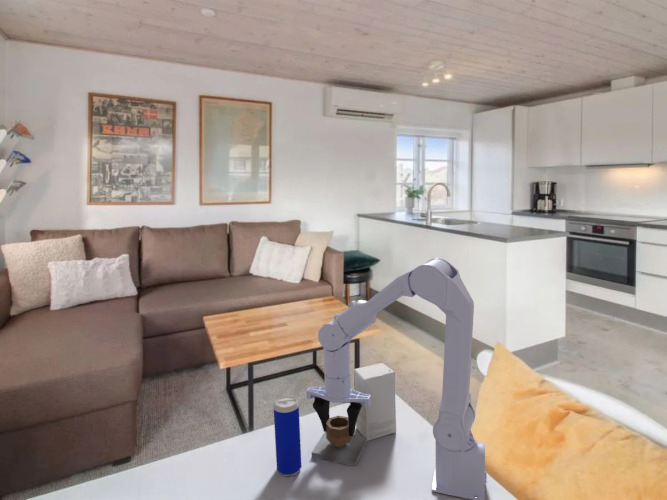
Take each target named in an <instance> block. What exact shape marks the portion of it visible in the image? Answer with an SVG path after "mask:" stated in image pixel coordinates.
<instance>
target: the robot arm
mask: <svg viewBox="0 0 667 500" xmlns="http://www.w3.org/2000/svg"><path fill="white" fill-rule="evenodd" d="M415 296H418V297H420V298H421V299H423V300H425V301H427V302H428V303H431V304H432V305H434V306H436V307H437V308H438V309H439V310H440V311H441V312H443V313H444V314H445V329H444V330H445V331H444V351H443V352H444V353H443V369H442V371H443V373H442V395H441V398H440V403H439V409H438V418H437V419H436V421H435V423H434V424H433V427H432V434H433V435H432V436H433V437H434V440H435V465H434V472H433V478H432V483H431V484H432V485H431V491H432V492H433V493H434V492H435V493H440V494H444V495H448V496H453V497H457V498H463V499H466V500H467V499H468V500H485V498H486V496H485V494H486V491H485V490H486V489H485V488H486V484H487V477H488V476H487V472H486V447H485V446H486V443H484V442H481V441H478V440H476V439H475V437H474V436H473V432H472V430H471V429H472V426H473V424H474V422H475V419H476V412H475V409H474V406H473V405H472V394H471V393H470V384H471V383H470V382H471V369H472V368H471V367H472V349H473V348H472V347H473V333H474V332H473V330H474V313H475V312H474V311H475V310H474V309H475V304H474V299H473V298H472V296H471V294H470V293H469V291H468V289H467V287H466V285H465V284H464V282H463V280H462V278H461V275H460V271H459V270H458V268H456V267H455V266H454V265H453V264H451V262H449V261H447V260H446V259H444V258H440V257H436V258H435V257H434V258H431V259H429V260H428V261H426V262H424V263H423V264H421V265H418V266H417V267H415V268H413V269H411V270H408V271H407V272H405V273H403V274H401V275H400V276H398V277H396V278H395V279H393V280H392V281H391V282H390V283H388V284H387V285H386V286H385V287H383V288H382V289H381V290H379V292H377V293H376V294H375V295H373V296H372V297H371V298H369V300H365V299H364V300H363V299H359V300H351V302H349V303H348V305H347V306H348V307H347V308H346V309H345V310H343V311H341V313H336V314H335V315H333V319H332V320H331V321H329V322H328V323H324V324H322V327H321V328H320V329H319V330H318V333H317V339H318V341H319V344H320V345H321V347H322V349H323V367H324V368H323V370H324V371H323V373H324V386H309V387H308V388H307V389H306V390H305V391H306V399H309V400H311V399H314V400H313V402H312V408H313V409H314V411H315V413H317V416H318V418H319V421H320V422H321V423H320V424H321V427H322V430H323V433H325V432H326V422H327V421H328V419H329V418H331V417H330V405H331V404H330V402H331V403H337V404H339V403H341V404H342V403H346V404H349V405H348V407H347V409H346V414H347V417H348V420H349V436H353V435H355V433H356V432H355V431H356V422H357V418H358V415H359V412H360V410H361V407H362V405H364V407H369V406H370V404H371V395H368V394H364V393H361V392H358V391H355V389H352V384H351V381H352V380H351V358H350V357H351V354H350V349H351V348H350V343H351V340H353V339H354V338H356V337H357V336H358V335H360V334H361V333H362V332H364V331H365V330H366V329H369V328H370V327H371V326H373V324H375V323H376V321H377V313H379V312H381V311H382V310H384V309H385V308H387V307H388V306H390V305H391V304H392V303H394V302H396V301H397V300H399V299H400V298H402V297H408V298H409V297H410V298H413V297H415ZM475 497H477V498H475Z"/></svg>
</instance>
